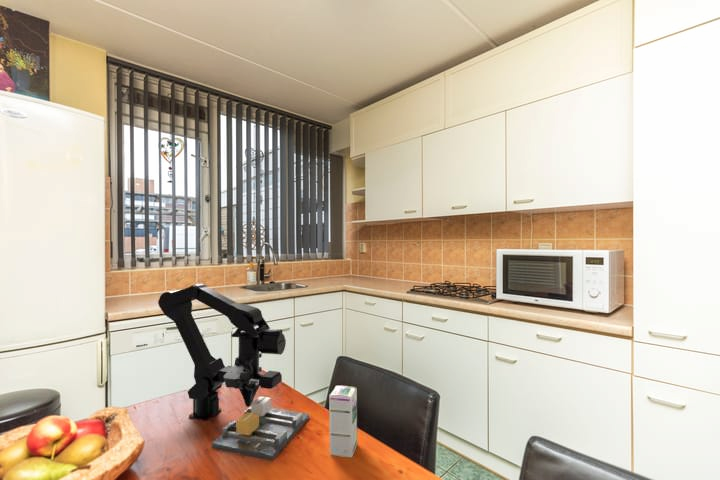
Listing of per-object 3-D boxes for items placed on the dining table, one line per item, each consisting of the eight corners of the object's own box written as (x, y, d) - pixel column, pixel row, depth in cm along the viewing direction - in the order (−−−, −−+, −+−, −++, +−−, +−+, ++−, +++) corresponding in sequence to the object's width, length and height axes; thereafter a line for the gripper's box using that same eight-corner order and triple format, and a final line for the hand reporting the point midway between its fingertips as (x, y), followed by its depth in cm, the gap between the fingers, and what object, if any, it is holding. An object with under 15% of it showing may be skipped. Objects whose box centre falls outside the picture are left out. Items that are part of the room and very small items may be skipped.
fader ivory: (251, 419, 93) (251, 402, 93) (260, 411, 97) (260, 396, 97) (262, 421, 92) (262, 404, 92) (270, 413, 96) (270, 397, 96)
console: (211, 447, 82) (211, 435, 82) (258, 409, 101) (258, 399, 101) (271, 460, 77) (272, 447, 77) (309, 418, 96) (309, 407, 96)
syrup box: (352, 458, 78) (352, 396, 78) (328, 455, 79) (328, 394, 79) (357, 444, 83) (357, 386, 84) (335, 441, 85) (335, 384, 85)
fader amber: (236, 438, 83) (236, 420, 83) (247, 429, 88) (247, 411, 88) (248, 440, 82) (248, 422, 82) (258, 431, 87) (258, 413, 87)
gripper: (202, 358, 91) (201, 415, 90) (260, 365, 85) (260, 425, 85) (229, 346, 101) (228, 397, 101) (282, 351, 96) (282, 405, 96)
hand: (248, 406), depth 95 cm, fingers closed
